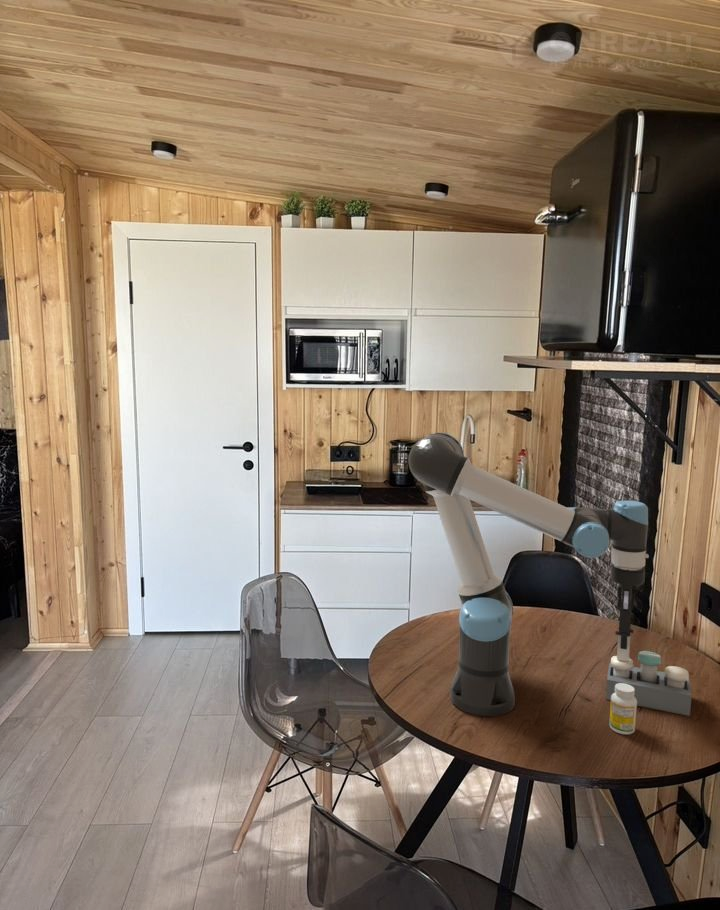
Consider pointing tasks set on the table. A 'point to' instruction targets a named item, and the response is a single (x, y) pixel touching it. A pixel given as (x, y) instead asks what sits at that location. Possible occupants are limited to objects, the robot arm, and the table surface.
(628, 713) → the supplement bottle
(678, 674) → the knob
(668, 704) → the grey slotted rack
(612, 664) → the knob
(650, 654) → the dial mid
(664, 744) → the table surface
